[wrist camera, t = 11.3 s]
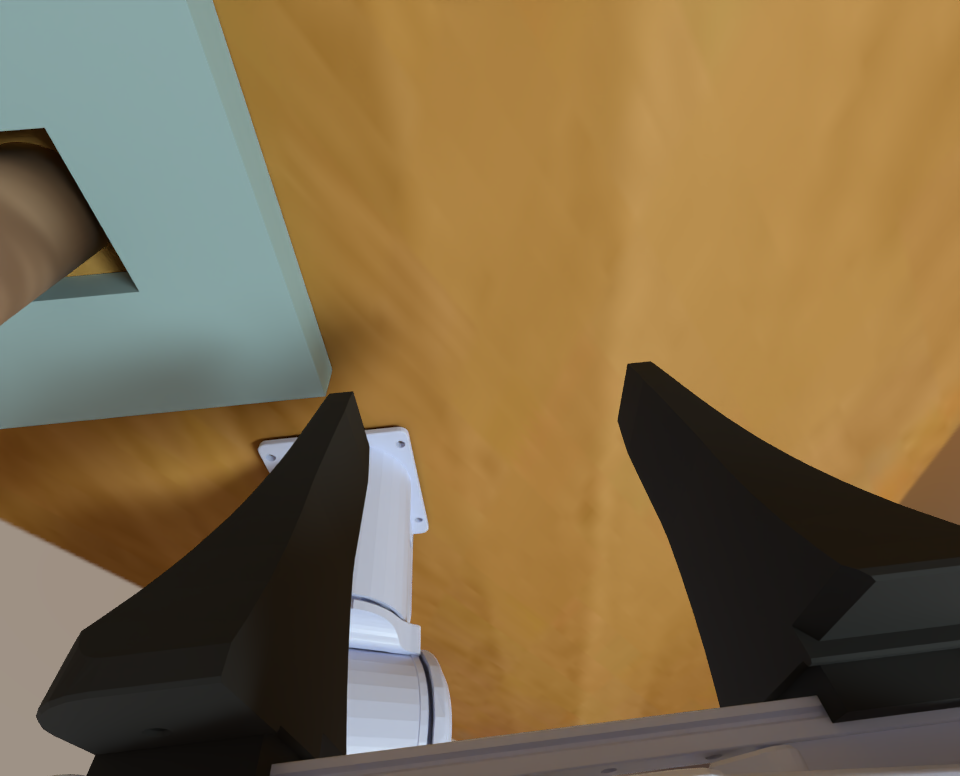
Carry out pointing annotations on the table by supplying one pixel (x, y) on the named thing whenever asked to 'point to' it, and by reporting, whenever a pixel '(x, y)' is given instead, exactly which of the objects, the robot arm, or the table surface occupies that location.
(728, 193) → the table surface
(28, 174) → the walnut pin
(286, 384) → the hole board
